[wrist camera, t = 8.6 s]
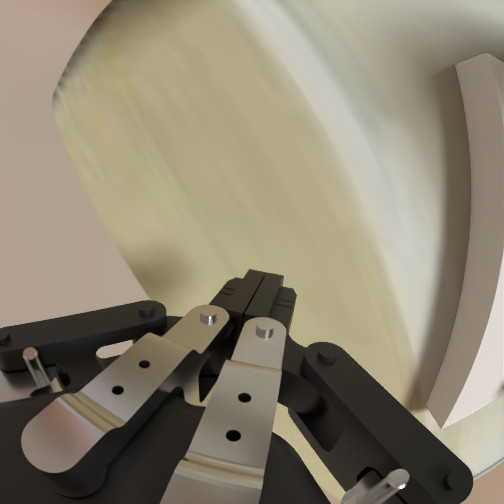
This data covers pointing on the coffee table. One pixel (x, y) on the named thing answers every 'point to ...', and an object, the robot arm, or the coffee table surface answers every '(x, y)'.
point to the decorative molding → (478, 255)
